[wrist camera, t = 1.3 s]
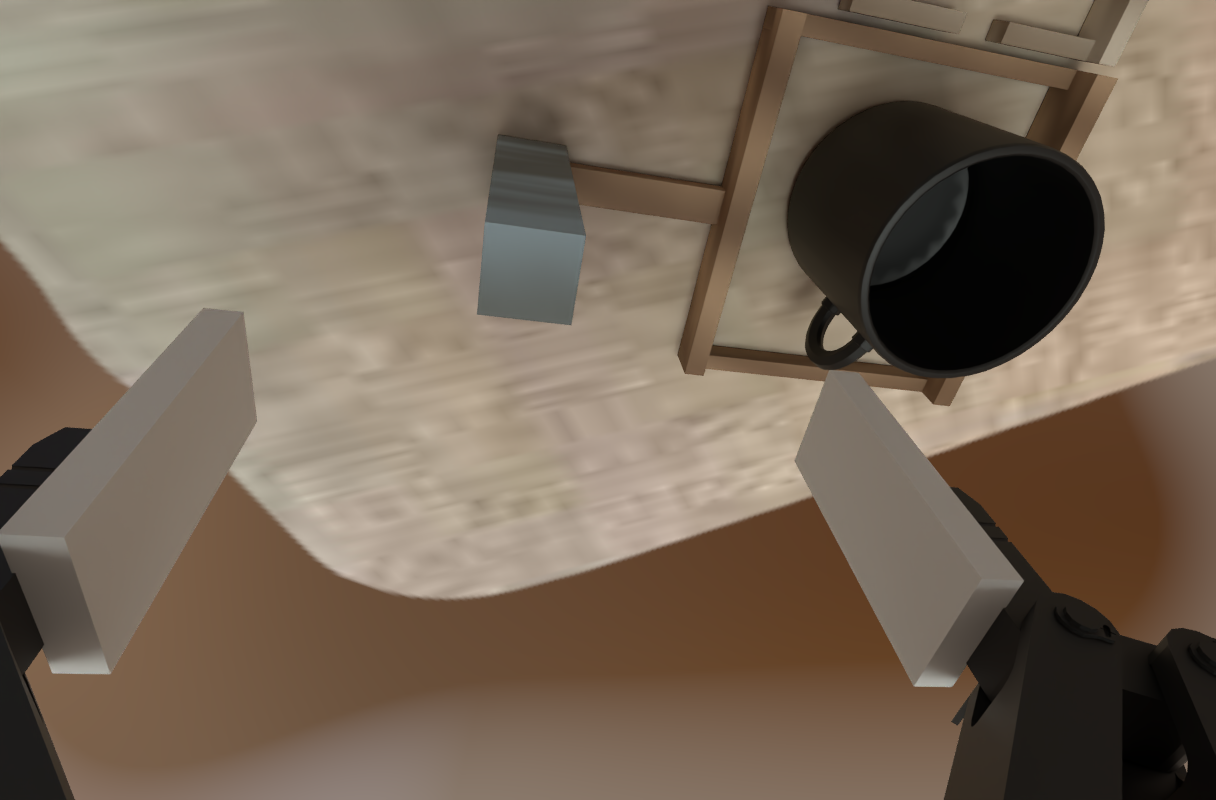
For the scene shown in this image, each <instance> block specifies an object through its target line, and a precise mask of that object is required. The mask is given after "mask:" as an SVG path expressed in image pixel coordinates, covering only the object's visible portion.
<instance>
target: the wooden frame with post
mask: <svg viewBox="0 0 1216 800" xmlns="http://www.w3.org/2000/svg"><path fill="white" fill-rule="evenodd" d="M801 36H804V37H809V38H814V39H819V40H824V41H829V42H834V43H838V44H843V45H848V46H853V47H858V48H863V49H868V50H873V51H878V52H883V53H888V54H893V55H898V56H903V57H907V58H912V59H917V60H922V61H927V62H932V63H937V64H942V65H947V66H952V67H957V68H962V69H967V70H972V71H977V72H981V73H986V74H991V75H996V76H1001V77H1006V78H1011V79H1016V80H1021V81H1026V82H1031V83H1036V84H1041V85H1046V86H1050V88H1049V90H1048V92H1047V94H1046V96H1045V98H1044V101H1043V103H1042V105H1041V107H1040V109H1039V111H1038V113H1037V115H1036V118H1035V120H1034V122H1033V124H1032V126H1031V128H1030V130H1029V132H1028V135H1027V137H1026V138H1027V139H1030V140H1033V141H1035V142H1038V143H1041V144H1044V145H1047V146H1049V147H1052V148H1054V149H1056V150H1059V151H1061V152H1063V153H1065V154H1067V155H1068V156H1070V157H1071V158H1073V159H1074V160H1075V161H1076V160H1077V158H1078V156H1079V154H1080V152H1081V150H1082V148H1083V146H1084V144H1085V142H1086V140H1087V138H1088V136H1089V134H1090V132H1091V130H1092V128H1093V127H1094V125H1095V123H1096V121H1097V119H1098V117H1099V115H1100V113H1101V111H1102V109H1103V107H1104V105H1105V103H1106V101H1107V99H1108V97H1109V95H1110V94H1111V92H1112V90H1113V88H1114V86H1115V84H1116V82H1117V80H1118V79H1117V78H1112V77H1107V76H1103V75H1098V74H1093V73H1088V72H1083V71H1078V70H1073V69H1068V68H1063V67H1059V66H1054V65H1049V64H1044V63H1040V62H1035V61H1030V60H1025V59H1020V58H1016V57H1011V56H1006V55H1001V54H997V53H992V52H987V51H982V50H977V49H973V48H968V47H963V46H958V45H954V44H949V43H944V42H939V41H934V40H930V39H925V38H920V37H915V36H911V35H906V34H901V33H896V32H891V31H887V30H882V29H877V28H872V27H868V26H863V25H858V24H853V23H848V22H844V21H839V20H834V19H829V18H825V17H820V16H815V15H810V14H806V13H801V12H796V11H792V10H787V9H782V8H777V7H771V6H768V9H767V13H766V17H765V21H764V25H763V28H762V32H761V36H760V40H759V44H758V48H757V52H756V55H755V59H754V63H753V67H752V71H751V75H750V78H749V82H748V86H747V90H746V94H745V98H744V102H743V105H742V109H741V113H740V117H739V121H738V125H737V129H736V132H735V136H734V140H733V144H732V148H731V152H730V156H729V159H728V163H727V167H726V171H725V175H724V179H723V182H722V186H716V185H709V184H703V183H697V182H690V181H684V180H678V179H671V178H665V177H659V176H652V175H646V174H640V173H633V172H627V171H620V170H614V169H608V168H601V167H595V166H589V165H582V164H576V163H570V162H569V157H568V153H567V148H566V146H565V145H559V144H553V143H547V142H540V141H534V140H528V139H522V138H516V137H510V136H503V135H498V139H497V146H496V152H495V159H494V165H493V172H492V179H491V185H490V192H489V198H488V205H487V212H486V218H485V227H484V239H483V251H482V262H481V274H480V286H479V298H478V309H477V314H478V315H487V316H495V317H504V318H513V319H521V320H530V321H539V322H547V323H556V324H565V325H571V324H572V317H573V311H574V305H575V299H576V293H577V287H578V281H579V275H580V269H581V263H582V257H583V251H584V244H585V238H586V234H585V229H584V225H583V220H582V216H581V211H580V207H579V205H585V206H592V207H599V208H605V209H612V210H619V211H626V212H633V213H640V214H646V215H653V216H660V217H667V218H674V219H680V220H687V221H694V222H701V223H708V224H712V225H711V229H710V233H709V236H708V240H707V244H706V248H705V252H704V256H703V260H702V263H701V267H700V271H699V275H698V279H697V283H696V287H695V290H694V294H693V298H692V302H691V306H690V310H689V313H688V317H687V321H686V325H685V329H684V333H683V337H682V340H681V344H680V348H679V352H678V357H679V360H680V362H681V365H682V367H683V370H684V373H685V374H692V375H702V376H704V372H705V369H714V370H723V371H733V372H742V373H751V374H760V375H770V376H779V377H788V378H798V379H807V380H816V381H825V380H826V377H827V375H828V372H829V370H823V369H821V368H819V367H818V366H816V365H815V364H814V363H813V362H812V361H811V360H810V359H809V358H808V356H800V355H791V354H782V353H774V352H765V351H756V350H747V349H739V348H730V347H721V346H712V344H713V341H714V337H715V334H716V330H717V327H718V323H719V320H720V316H721V313H722V309H723V306H724V302H725V299H726V295H727V292H728V288H729V285H730V281H731V278H732V274H733V271H734V268H735V264H736V261H737V257H738V254H739V250H740V247H741V243H742V240H743V236H744V233H745V229H746V226H747V222H748V219H749V215H750V212H751V208H752V205H753V201H754V198H755V194H756V191H757V187H758V184H759V180H760V177H761V173H762V170H763V166H764V163H765V159H766V156H767V152H768V149H769V145H770V142H771V138H772V135H773V131H774V128H775V125H776V121H777V118H778V114H779V111H780V107H781V104H782V100H783V97H784V93H785V90H786V86H787V83H788V79H789V76H790V72H791V69H792V65H793V62H794V58H795V55H796V51H797V48H798V44H799V41H800V37H801ZM836 371H846V372H856V373H859V374H860V375H861V376H862V378H863V379H864V380H865V381H866V383H867V384H868V385H869V386H872V387H882V388H891V389H900V390H910V391H919V392H922V393H923V394H924V395H925V396H926V397H927V398H928V399H929V400H930V401H931V402H932V403H933V404H935V405H944V406H950V404H951V403H952V401H953V399H954V397H955V395H956V393H957V391H958V389H959V387H960V385H961V383H962V381H963V379H964V377H965V376H963V377H956V378H929V377H922V376H917V375H914V374H911V373H908V372H905V371H903V370H900V369H898V368H897V367H895V366H888V365H879V364H870V363H862V362H853V363H851V364H850V365H848V366H845V367H843V368H840V369H837V370H836Z"/></svg>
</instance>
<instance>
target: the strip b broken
mask: <svg viewBox="0 0 1216 800" xmlns="http://www.w3.org/2000/svg"><path fill="white" fill-rule="evenodd" d="M1148 1H1149V0H1095V1H1094V3H1093V6H1092V8H1091V10H1090V12H1089V14H1088V16H1087V18H1086V20H1085V22H1084V25H1083V27H1082V29H1081V31H1080V33H1079V35H1078V37H1076V36H1072V35H1067V34H1063V33H1058V32H1054V31H1049V30H1044V29H1040V28H1035V27H1031V26H1026V25H1022V24H1017V23H1013V22H1006V21H999V20H993V23H992V25H991V28H990V30H989V32H988V35H987V37H986V41H991V42H995V43H1000V44H1005V45H1009V46H1014V47H1019V48H1023V49H1028V50H1033V51H1038V52H1042V53H1047V54H1052V55H1056V56H1061V57H1066V58H1071V59H1075V60H1080V61H1085V62H1090V63H1096V64H1101V65H1107V66H1112V67H1115V66H1116V64H1117V62H1118V60H1119V58H1120V56H1121V54H1122V52H1123V50H1124V48H1125V46H1126V44H1127V42H1128V40H1129V38H1130V36H1131V34H1132V32H1133V30H1134V28H1135V26H1136V24H1137V22H1138V20H1139V18H1140V16H1141V14H1142V12H1143V11H1144V9H1145V7H1146V5H1147V3H1148ZM838 9H840V10H845V11H849V12H854V13H859V14H863V15H868V16H873V17H878V18H882V19H887V20H892V21H896V22H901V23H906V24H910V25H915V26H920V27H925V28H929V29H934V30H939V31H943V32H949V33H955V34H959V33H960V31H961V28H962V26H963V23H964V20H965V18H966V15H967V12H962V11H958V10H953V9H949V8H944V7H940V6H935V5H931V4H926V3H921V2H917V1H912V0H841V2H840V5H839V8H838Z"/></svg>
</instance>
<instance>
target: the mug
mask: <svg viewBox="0 0 1216 800" xmlns="http://www.w3.org/2000/svg"><path fill="white" fill-rule="evenodd" d="M1104 231H1105V224H1104V209H1103V205H1102V200H1101V196H1100V194H1099V191H1098V189H1097V187H1096V185H1095V183H1094V181H1093V180H1092V178H1091V177H1090V175H1089V174H1088V173H1087V171H1086V170H1085V169H1084V168H1083V166H1082V165H1080V164H1079V163H1078V162H1077V161H1075V160H1074V159H1073V158H1071V157H1070V156H1068V155H1067V154H1065V153H1063V152H1061V151H1059V150H1056V149H1054V148H1052V147H1049V146H1047V145H1044V144H1041V143H1038V142H1035V141H1033V140H1030V139H1027V138H1024V137H1021V136H1018V135H1016V134H1013V133H1010V132H1007V131H1004V130H1002V129H999V128H996V127H993V126H990V125H988V124H985V123H982V122H979V121H976V120H973V119H971V118H968V117H965V116H962V115H959V114H957V113H954V112H951V111H948V110H945V109H943V108H940V107H937V106H934V105H930V104H926V103H921V102H910V101H901V102H894V103H888V104H883V105H880V106H877V107H873V108H870V109H868V110H866V111H864V112H862V113H860V114H858V115H856V116H854V117H852V118H851V119H849V120H848V121H846V122H845V123H843V124H842V125H840V126H839V127H837V128H836V129H835V130H834V131H833V132H832V133H831V134H829V135H828V136H827V137H826V138H825V139H824V140H823V141H822V142H821V143H820V145H819V146H818V147H817V148H816V149H815V150H814V151H813V153H812V154H811V156H810V157H809V159H808V160H807V162H806V163H805V165H804V167H803V168H802V170H801V172H800V174H799V176H798V178H797V181H796V183H795V186H794V189H793V192H792V196H791V200H790V205H789V210H788V234H789V241H790V244H791V248H792V251H793V253H794V256H795V258H796V260H797V262H798V264H799V265H800V267H801V268H802V269H803V270H804V272H805V273H806V274H807V275H808V276H809V277H810V279H811V280H812V281H813V282H814V283H815V284H816V285H817V286H818V287H819V289H820V290H821V291H822V292H823V293H824V294H825V295H826V297H825V299H824V300H823V301H822V305H821V307H820V308H819V310H818V311H817V313H816V314H815V315H814V317H813V319H812V321H811V323H810V326H809V328H808V331H807V334H806V341H805V349H806V352H807V355H808V358H809V359H810V360H811V361H812V362H813V363H814V364H815V365H816V366H818V367H819V368H821V369H823V370H837V369H840V368H843V367H845V366H848V365H850V364H851V363H853V362H855V361H856V360H858V359H859V358H860V357H861V356H863V355H864V354H865V353H866V352H870V351H871V350H872V349H874V350H875V351H876V352H877V353H878V354H879V355H880V356H881V357H882V358H883V359H885V360H886V361H887V362H888V363H889V364H891V365H893V366H895V367H897V368H898V369H900V370H903V371H905V372H908V373H911V374H914V375H917V376H922V377H929V378H956V377H963V376H969V375H973V374H977V373H980V372H984V371H987V370H989V369H992V368H994V367H997V366H999V365H1002V364H1004V363H1006V362H1008V361H1010V360H1011V359H1013V358H1015V357H1017V356H1019V355H1021V354H1022V353H1024V352H1025V351H1027V350H1028V349H1029V348H1031V347H1032V346H1034V345H1035V344H1036V343H1038V342H1039V341H1040V340H1042V339H1043V338H1044V337H1045V336H1046V335H1047V334H1049V333H1050V332H1051V331H1052V330H1053V329H1054V328H1055V327H1056V326H1057V325H1058V324H1059V323H1060V322H1061V321H1062V320H1063V319H1064V318H1065V316H1066V315H1067V314H1068V313H1069V312H1070V310H1071V309H1072V308H1073V306H1074V305H1075V304H1076V303H1077V301H1078V300H1079V298H1080V297H1081V295H1082V293H1083V292H1084V290H1085V288H1086V287H1087V285H1088V283H1089V281H1090V279H1091V277H1092V275H1093V273H1094V270H1095V268H1096V266H1097V263H1098V259H1099V256H1100V253H1101V249H1102V244H1103V238H1104ZM840 313H842V314H843V315H844V316H845V318H846V319H847V320H848V321H849V322H850V323H851V324H852V325H853V326H854V328H855V329H856V330H857V332H856V334H855V335H854V336H853V337H852V340H851V341H850V342H849V343H847V344H846V345H845V346H843V347H841V348H839V349H837V350H834V351H826V350H824V348H823V338H824V334H825V332H826V329H827V327H828V325H829V324H830V322H831V320H832V319H833V318H834V316H835V315H839V314H840Z"/></svg>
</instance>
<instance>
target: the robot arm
mask: <svg viewBox="0 0 1216 800" xmlns="http://www.w3.org/2000/svg"><path fill="white" fill-rule="evenodd" d="M256 422H257V416H256V408H255V400H254V392H253V384H252V376H251V368H250V360H249V352H248V344H247V336H246V328H245V320H244V312H238V311H228V310H218V309H207V308H203V309H202V310H201V312H200V313H199V314H198V315H197V316H196V317H195V318H194V319H193V320H192V321H191V322H190V323H189V325H188V326H187V327H186V328H185V329H184V330H183V331H182V332H181V333H180V334H179V335H178V337H177V338H176V339H175V340H174V341H173V342H172V343H171V344H170V345H169V346H168V347H167V349H166V350H165V351H164V352H163V353H162V354H161V355H160V356H159V357H158V358H157V359H156V361H155V362H154V363H153V364H152V365H151V366H150V367H149V368H148V369H147V370H146V371H145V373H144V374H143V375H142V376H141V377H140V378H139V379H138V380H137V381H136V382H135V383H134V384H133V386H132V387H131V388H130V389H129V390H128V391H127V392H126V393H125V394H124V395H123V396H122V398H121V399H120V400H119V401H118V402H117V403H116V404H115V405H114V406H113V407H112V408H111V410H110V411H109V412H108V413H107V414H106V415H105V416H104V417H103V418H102V419H101V420H100V422H99V423H98V424H97V425H96V426H95V427H94V428H93V429H82V428H68V427H65V428H63V429H61V430H59V431H57V432H56V433H54V434H52V435H50V436H48V437H46V438H44V439H43V440H41V441H39V442H37V443H35V444H33V445H32V446H31V447H30V448H29V449H28V450H27V451H26V452H25V453H24V454H23V455H22V456H21V457H20V458H19V459H18V460H17V461H16V462H15V463H14V464H13V465H12V469H11V470H7V471H6V472H5V473H4V474H3V475H2V476H1V477H0V800H75V799H74V796H73V794H72V791H71V789H70V786H69V783H68V781H67V778H66V776H65V773H64V771H63V768H62V765H61V763H60V760H59V758H58V755H57V753H56V750H55V747H54V745H53V742H52V740H51V737H50V735H49V732H48V729H47V727H46V724H45V722H44V719H43V717H42V714H41V712H40V709H39V706H38V704H37V701H36V699H35V696H34V694H33V691H32V688H31V686H30V683H29V681H28V679H27V677H26V674H25V671H26V670H27V669H28V667H29V666H30V664H31V663H32V661H33V660H34V659H35V657H36V656H37V654H38V653H39V651H40V650H41V649H43V651H44V653H45V656H46V658H47V661H48V663H49V665H50V668H51V670H52V673H69V674H70V673H71V674H111V672H112V671H113V669H114V667H115V665H116V663H117V662H118V660H119V658H120V657H121V655H122V653H123V651H124V650H125V648H126V646H127V645H128V643H129V641H130V640H131V638H132V636H133V634H134V633H135V631H136V629H137V627H138V626H139V624H140V622H141V621H142V619H143V617H144V615H145V614H146V612H147V610H148V608H149V607H150V605H151V603H152V601H153V600H154V598H155V596H156V595H157V593H158V591H159V589H160V588H161V586H162V584H163V583H164V581H165V579H166V577H167V576H168V574H169V572H170V570H171V568H172V567H173V565H174V564H175V562H176V560H177V558H178V557H179V555H180V553H181V551H182V550H183V548H184V546H185V545H186V543H187V541H188V539H189V538H190V536H191V534H192V532H193V531H194V529H195V527H196V526H197V524H198V522H199V521H200V519H201V517H202V515H203V514H204V512H205V510H206V508H207V507H208V505H209V503H210V502H211V500H212V498H213V496H214V495H215V493H216V491H217V490H218V488H219V486H220V484H221V483H222V481H223V479H224V477H225V476H226V474H227V472H228V471H229V469H230V467H231V465H232V464H233V462H234V460H235V458H236V457H237V455H238V453H239V452H240V450H241V448H242V446H243V445H244V443H245V441H246V440H247V438H248V436H249V434H250V433H251V431H252V429H253V427H254V426H255V424H256ZM795 463H796V465H797V466H798V468H799V470H800V472H801V474H802V476H803V478H804V480H805V482H806V483H807V485H808V487H809V489H810V491H811V493H812V495H813V497H814V499H815V500H816V502H817V504H818V506H819V508H820V510H821V512H822V513H823V516H824V517H825V519H826V521H827V523H828V525H829V527H830V529H831V531H832V533H833V534H834V536H835V538H836V540H837V542H838V544H839V546H840V547H841V549H842V551H843V553H844V555H845V557H846V559H847V560H848V563H849V565H850V567H851V568H852V570H853V572H854V574H855V576H856V578H857V580H858V582H859V583H860V585H861V587H862V589H863V591H864V593H865V595H866V597H867V598H868V600H869V602H870V604H871V606H872V608H873V610H874V612H875V613H876V616H877V617H878V619H879V621H880V623H881V625H882V627H883V629H884V631H885V633H886V634H887V636H888V638H889V640H890V642H891V644H892V646H893V648H894V650H895V651H896V653H897V655H898V657H899V659H900V661H901V662H902V665H903V667H904V668H905V670H906V672H907V674H908V676H909V678H910V680H911V682H912V683H913V685H914V686H923V687H926V686H928V687H952V686H953V685H954V683H955V682H956V680H957V679H958V678H959V676H960V675H961V673H962V672H963V670H964V669H965V667H966V666H967V665H968V667H969V668H970V670H971V671H972V673H973V675H974V676H975V678H976V680H977V681H978V684H977V686H976V687H975V689H974V690H973V691H972V693H971V694H970V696H969V697H968V698H967V700H966V701H965V703H964V704H963V705H962V707H961V708H960V710H959V711H958V713H957V714H956V715H955V717H954V718H953V720H952V721H951V722H953V723H954V724H956V725H958V724H959V723H960V722H961V720H962V719H963V718H964V720H963V724H962V728H961V732H960V736H959V741H958V745H957V748H956V752H955V756H954V761H953V765H952V769H951V773H950V777H949V781H948V785H947V789H946V793H945V797H944V800H1216V639H1214V638H1211V637H1209V636H1207V635H1204V634H1202V633H1200V632H1197V631H1193V630H1189V629H1184V628H1178V629H1171V631H1170V632H1169V633H1168V634H1167V635H1166V636H1165V637H1164V638H1163V640H1162V641H1161V642H1160V643H1159V644H1158V645H1157V646H1156V645H1153V644H1149V643H1145V642H1142V641H1139V640H1135V639H1132V638H1128V637H1125V636H1122V635H1120V634H1119V633H1118V631H1117V630H1116V629H1115V627H1114V626H1113V625H1112V623H1111V622H1110V621H1109V620H1108V619H1107V618H1106V617H1105V616H1103V615H1102V614H1101V613H1100V612H1099V611H1097V610H1096V609H1095V608H1093V607H1091V606H1090V605H1088V604H1086V603H1085V602H1083V601H1081V600H1079V599H1077V598H1074V597H1071V596H1069V595H1066V594H1061V593H1054V592H1052V591H1051V590H1050V589H1049V587H1048V586H1047V585H1046V584H1045V582H1044V581H1043V580H1042V579H1041V578H1040V576H1039V575H1038V574H1037V573H1036V572H1035V570H1034V569H1033V568H1032V567H1031V566H1030V564H1029V563H1028V562H1027V561H1026V559H1025V558H1024V557H1023V556H1022V555H1021V553H1020V552H1019V551H1018V550H1017V549H1016V547H1015V546H1014V545H1013V544H1012V542H1008V538H1007V536H1006V535H1005V534H1004V533H1003V532H1002V530H1001V529H1000V528H999V527H996V526H995V524H996V523H995V522H994V521H993V519H992V518H991V517H990V516H989V515H988V514H987V512H986V511H985V510H984V509H983V508H982V506H981V505H980V504H979V503H977V502H976V501H975V500H973V499H972V498H971V497H969V496H968V495H967V494H966V493H964V492H963V491H961V490H960V489H959V488H954V487H949V486H948V484H947V483H946V482H945V481H944V479H943V478H942V477H941V476H940V474H939V473H938V472H937V471H936V469H935V468H934V467H933V466H932V464H931V463H930V462H929V461H928V459H927V458H926V457H925V456H924V454H923V453H922V452H921V451H920V449H919V448H918V447H917V445H916V444H915V443H914V442H913V440H912V439H911V438H910V437H909V435H908V434H907V433H906V432H905V430H904V429H903V428H902V427H901V425H900V424H899V423H898V422H897V420H896V419H895V418H894V417H893V415H892V414H891V413H890V412H889V410H888V409H887V408H886V407H885V405H884V404H883V403H882V401H881V400H880V399H879V398H878V396H877V395H876V394H875V393H874V391H873V390H872V389H871V388H870V386H869V385H868V384H867V383H866V381H865V380H864V379H863V378H862V376H861V375H860V374H859V373H856V372H846V371H836V370H829V372H828V375H827V377H826V380H825V382H824V385H823V388H822V390H821V393H820V396H819V398H818V401H817V403H816V406H815V409H814V411H813V414H812V417H811V419H810V422H809V424H808V427H807V430H806V432H805V435H804V437H803V440H802V443H801V445H800V448H799V451H798V453H797V456H796V458H795ZM1187 761H1188V770H1187V772H1186V769H1185V767H1184V763H1186V762H1187Z"/></svg>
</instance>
